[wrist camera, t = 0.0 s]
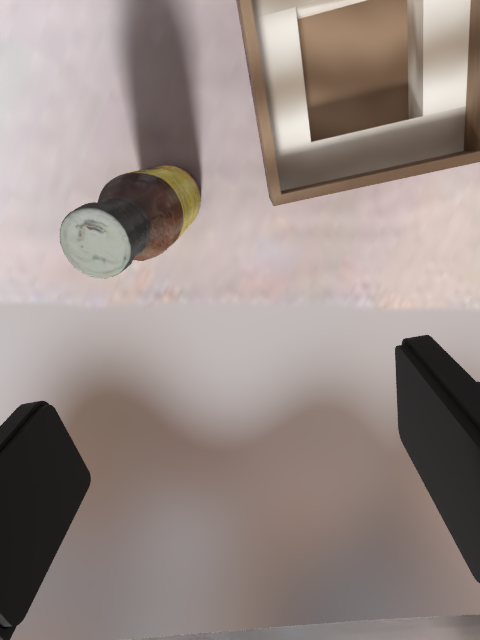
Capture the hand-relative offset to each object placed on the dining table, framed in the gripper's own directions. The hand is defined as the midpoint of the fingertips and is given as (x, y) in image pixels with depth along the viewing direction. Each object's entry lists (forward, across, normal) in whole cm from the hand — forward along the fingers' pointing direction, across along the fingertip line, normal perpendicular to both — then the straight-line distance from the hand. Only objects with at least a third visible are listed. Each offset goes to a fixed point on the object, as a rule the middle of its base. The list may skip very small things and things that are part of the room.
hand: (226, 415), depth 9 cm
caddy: (+31, -12, -11) cm, 35 cm away
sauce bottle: (+31, +7, -4) cm, 32 cm away
